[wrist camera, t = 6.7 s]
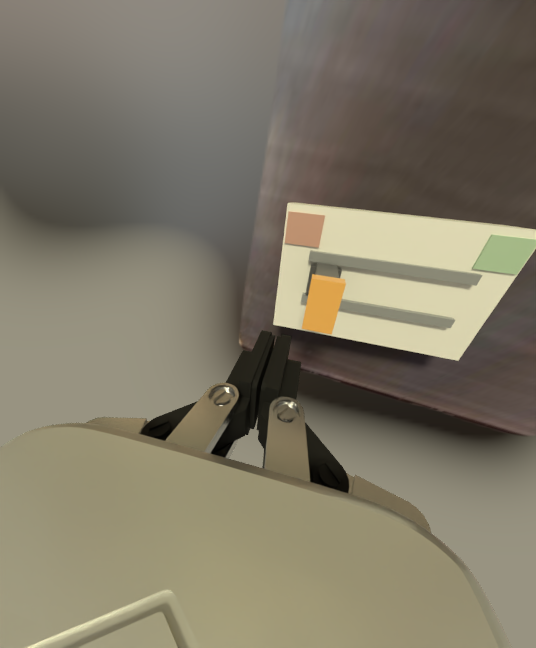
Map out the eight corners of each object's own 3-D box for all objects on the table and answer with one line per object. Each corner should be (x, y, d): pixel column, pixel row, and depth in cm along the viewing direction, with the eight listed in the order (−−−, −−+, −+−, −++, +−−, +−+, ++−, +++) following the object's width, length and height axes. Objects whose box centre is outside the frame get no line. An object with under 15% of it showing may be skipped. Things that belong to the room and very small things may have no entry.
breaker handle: (343, 260, 23) (350, 284, 16) (332, 301, 25) (335, 335, 19) (312, 256, 23) (307, 278, 17) (305, 296, 26) (298, 328, 19)
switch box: (505, 225, 22) (553, 232, 18) (439, 337, 30) (460, 363, 25) (294, 202, 26) (286, 203, 21) (280, 308, 33) (272, 326, 28)
